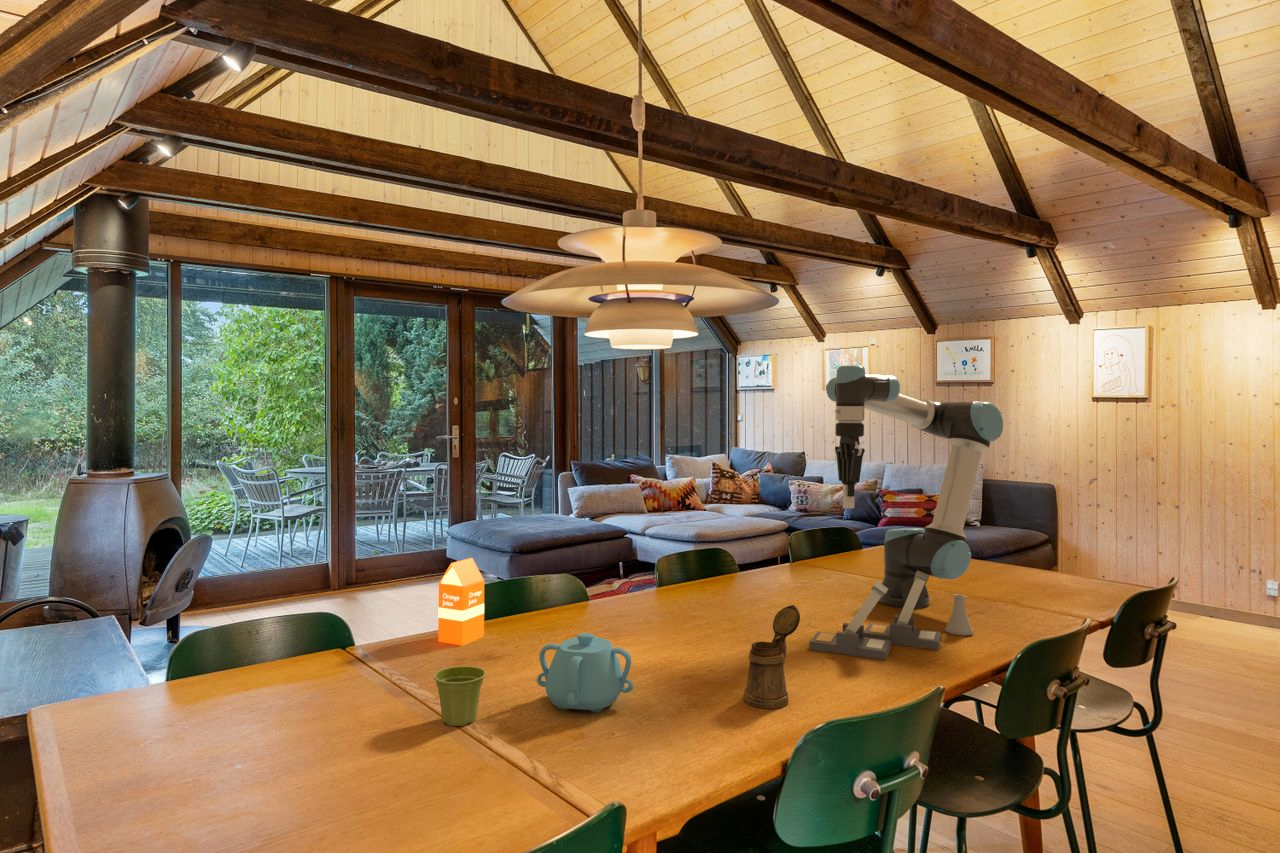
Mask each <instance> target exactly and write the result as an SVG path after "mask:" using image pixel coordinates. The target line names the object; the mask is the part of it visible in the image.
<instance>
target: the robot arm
mask: <svg viewBox="0 0 1280 853" xmlns="http://www.w3.org/2000/svg"><path fill="white" fill-rule="evenodd" d="M900 390H901V383H900V381H899V379H898V378H897V377H896V376H894V375H889V374H886V373H884V374H875V373H873V374H872V373H867V372H866V368H865V367H864V366H863V365H840V366H839V367H838V368H837V370H836V377H833V378H831V379H830V380H829V381H828V382H827V384H826V395H827V397H828V398H829V400H831V401H832V402H833V403H835V406H836V407H835V410H834V413H835V420H836V421H837V422H836V424H835V436H836V437H839V438H840V439H839V445H838V446H835V447H834V450H835V451H834V452H835V454H836V464H837V465H836V466H837V475H838V481H840V482H841V484H842V509H855V494H856V493H855V486H856V485H857V484H859V483H860V478H861V472H862V466H863V465H862V464H863V459H864V458H863V457H864V454H865V448H861V442H860V437H864V435H865V424H864V423H863V422H864V421H865V409H866V410H869V411H873V412H875V413H878V414H881V415H883V416H887V417H889V418H893V419H896V420H900V421H903V422H905V423H907V424H908V423H909V424H910V425H911V426H912V427H913V428H914V429H916V430H919V431H922V432H924V433H927V434H930V435H932V436H936V437H939V438H942V439H947V443H949V445H950V447H951V448H950V453H949V455H948V459H947V463H946V468H945V471H944V476H943V478H942V483H941V484H942V485H941V489H940V491H939V495H938V499H937V503H936V507H935V511H934V515H933V519H932V522H931V523H930V524H929V525H926V526H925V528H922V527H911V528H910V527H905V528H892V529H888V530H886V532H885V534H884V535H885V536H884V541H883V545H884V548H883V551H884V553H883V554H884V555H883V556H884V558H883V559H884V560H883V561H884V566H883V567H884V574H883V579H882V582H881V584H882V585H884V586H885V587H887V588H888V590H887V592H886V594H885V595H884V597H883V598H882V597H881V598H880V599H879V601H878V603H881V604H884V605H887V606H889V607H890V606H891V607H897V608H903V607H904V605H905V602H906V600H907V598H908V595H909V593H910V590H911V588H912V586H913V583H914V581H915V579H914V576H915V574H916V572H917V570H918V571H920V572H923V573H925V574H927V575H930V576H931V577H934V578H938V579H941V580H943V579H944V580H956V579H959V578H960V577H961V576H963V575H964V574H965V573H966V572H967V570H968V569H969V566H970V564H971V559H972V553H971V548H970V546H969V544H968V543H966V542H967V536H966V534H965V532H964V527H965V523H966V520H967V514H968V511H969V506H970V502H971V498H972V495H973V490H974V486H975V481H976V478H977V474H978V470H979V468H980V463H981V458H982V455H983V454H984V453H985V452H987V451H989V449H990V445H991V442H995V441H997V440H999V438H1000V437H1001V435H1002V434H1003V430H1004V419H1003V416H1002V414H1001V410H1000V409H999V407H997V406H996V405H995V404H993V403H992V402H989V401H980V400H976V401H931V400H928V399H920V400H919V399H916V398H913V397H910V396H907V395H904V394H901V393H900ZM930 576H929V577H930ZM928 591H929V590H928V589H927V584H924V586H923V588H922V591H921V593H920V596H919V598H918V600H917V603H916V605H915V607H914V609H915V608H916V609H920V608H925V607H929V606H930V595H929V592H928Z"/></svg>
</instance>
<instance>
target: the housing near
mask: <svg viewBox="0 0 1280 853" xmlns="http://www.w3.org/2000/svg"><path fill="white" fill-rule="evenodd" d="M849 623H850V622H843V624H842V631H838V630H837V632H836V633H835V632H833V633H832V632H828V631H827V632H825V631H820V630H818V631H817V632H816V633H815V634H814V635H813V637H812V638H811V639H810V640H809V650H811V651H818V652H824V653H825V652H826V653H832V654H838V655H846V656H851V657H852V656H853V657H860V658H868V659H869V658H870V659H875V660H884V661H886V660H887V658H888V655H889V653H890V652H891V649H892V646H891V645H892V644H891V641H890V640H882V639H874V638H867V637H864V631H865V625H864V624H862V625H861V626H860V628H859V629H858V630H857V632H856V633H848V632H844V631H845V629H846V628H847V626H848V625H849Z"/></svg>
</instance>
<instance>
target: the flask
mask: <svg viewBox="0 0 1280 853" xmlns="http://www.w3.org/2000/svg"><path fill="white" fill-rule="evenodd" d="M953 598H954V603H953V607H952V612H951V614H950V616H949V619H948V621H947V624H946V627H945V631H944V632H946V633H948V634H950V635H953V636H954V635H956V636H973V635H974V631H973V628H972V625H971V622H970V620H969V616H968V613H967V610H966V603H965V602H966V598H967V595H964V594H959V593H958V594H957V593H956V594H955V593H954V594H953Z"/></svg>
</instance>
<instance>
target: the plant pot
mask: <svg viewBox="0 0 1280 853" xmlns="http://www.w3.org/2000/svg"><path fill="white" fill-rule="evenodd" d="M486 673H487V672H486V670H485V669H483V668H481V667H478V666H471V665H470V666H469V665H464V666H463V665H458V666H457V665H455V666H451V667H446V668H442V669H440V670H438V671H435V673H434V674H433V680H434V681H435V683H436V687H437V690H438V695H439V702H440V710H441V718H442V719H441V720H442V723H445V724H447V725H448V726H451V727H455V726H456V727H457V726H459V727H462V726H466V725H467V724H469V723H475V721H476V719H477V715H478V710H479V700H480V696H481V695H480V694H481V689H482V685H483V683H484V681H483V680H484V679H485V677H486V675H487V674H486Z"/></svg>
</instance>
